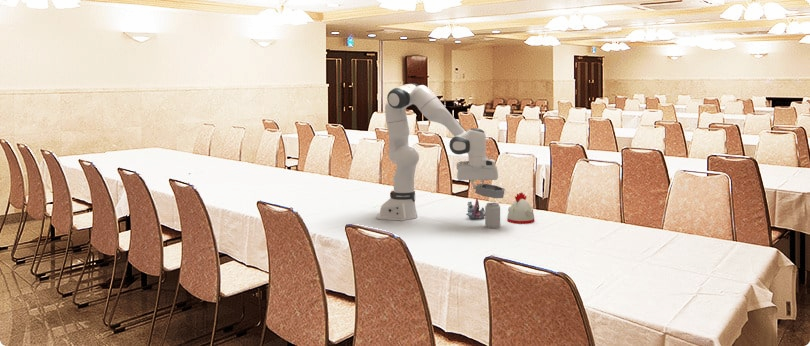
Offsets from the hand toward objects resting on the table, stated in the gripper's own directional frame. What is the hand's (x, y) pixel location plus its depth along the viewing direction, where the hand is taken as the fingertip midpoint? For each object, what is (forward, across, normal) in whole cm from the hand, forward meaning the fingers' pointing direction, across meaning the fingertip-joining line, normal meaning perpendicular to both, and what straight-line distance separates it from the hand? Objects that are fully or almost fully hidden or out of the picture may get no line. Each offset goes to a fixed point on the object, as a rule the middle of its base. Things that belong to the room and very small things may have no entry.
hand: (477, 188), depth 325 cm
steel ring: (+3, +6, 0) cm, 6 cm away
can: (+20, +7, 0) cm, 21 cm away
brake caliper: (+20, -2, +20) cm, 28 cm away
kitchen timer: (+20, +21, +15) cm, 33 cm away
